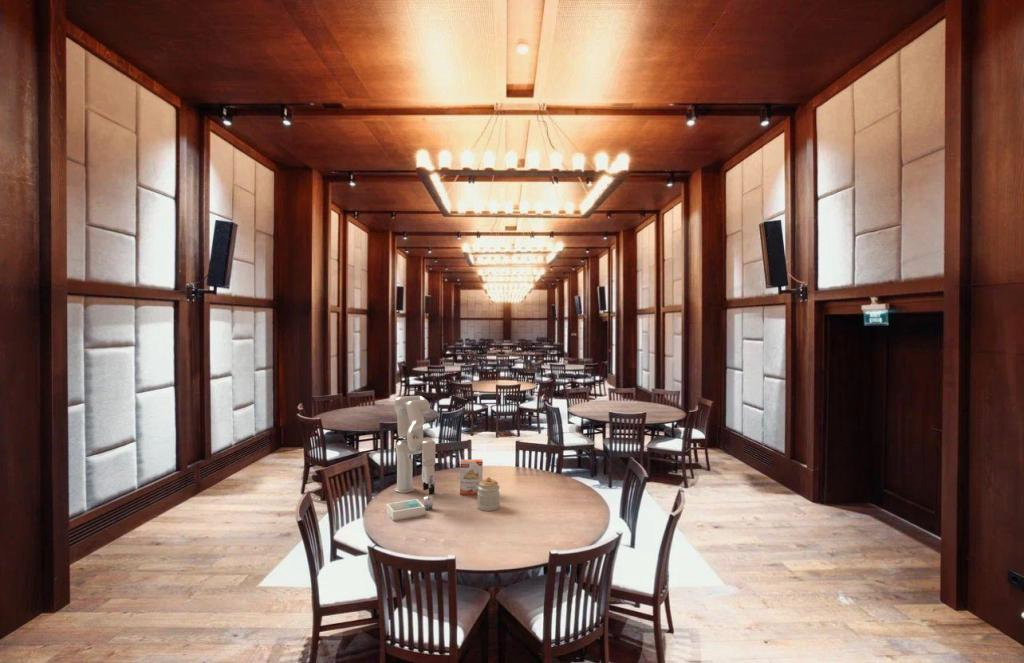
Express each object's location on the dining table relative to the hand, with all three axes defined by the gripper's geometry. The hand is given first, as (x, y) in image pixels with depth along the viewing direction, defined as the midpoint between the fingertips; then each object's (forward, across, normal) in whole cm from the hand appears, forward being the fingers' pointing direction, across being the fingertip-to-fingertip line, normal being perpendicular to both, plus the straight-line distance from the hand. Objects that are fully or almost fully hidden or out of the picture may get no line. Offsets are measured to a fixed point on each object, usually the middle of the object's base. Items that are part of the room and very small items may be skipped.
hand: (428, 491), depth 304 cm
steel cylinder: (+10, -1, 0) cm, 10 cm away
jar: (+11, +12, +32) cm, 36 cm away
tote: (+10, +1, -14) cm, 17 cm away
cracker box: (+10, -15, +33) cm, 38 cm away
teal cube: (+9, +1, -10) cm, 13 cm away
